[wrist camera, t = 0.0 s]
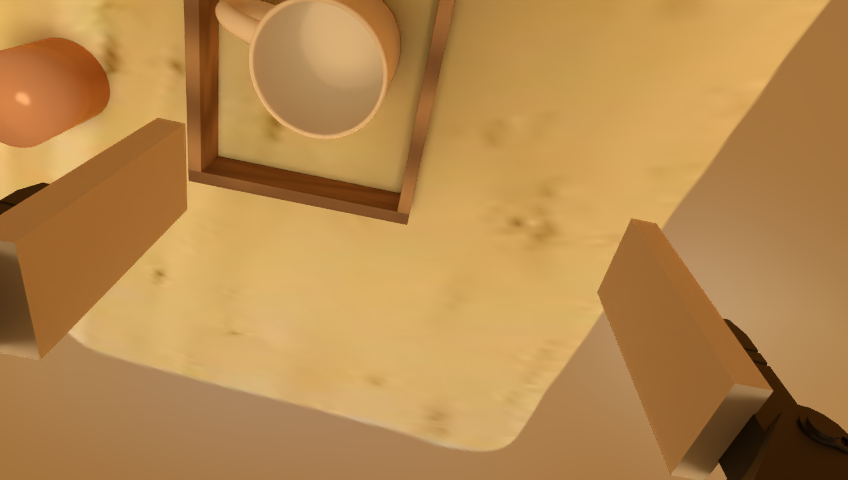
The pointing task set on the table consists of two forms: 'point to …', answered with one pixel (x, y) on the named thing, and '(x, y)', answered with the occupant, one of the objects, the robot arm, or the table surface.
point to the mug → (317, 59)
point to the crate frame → (278, 181)
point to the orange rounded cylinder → (48, 90)
